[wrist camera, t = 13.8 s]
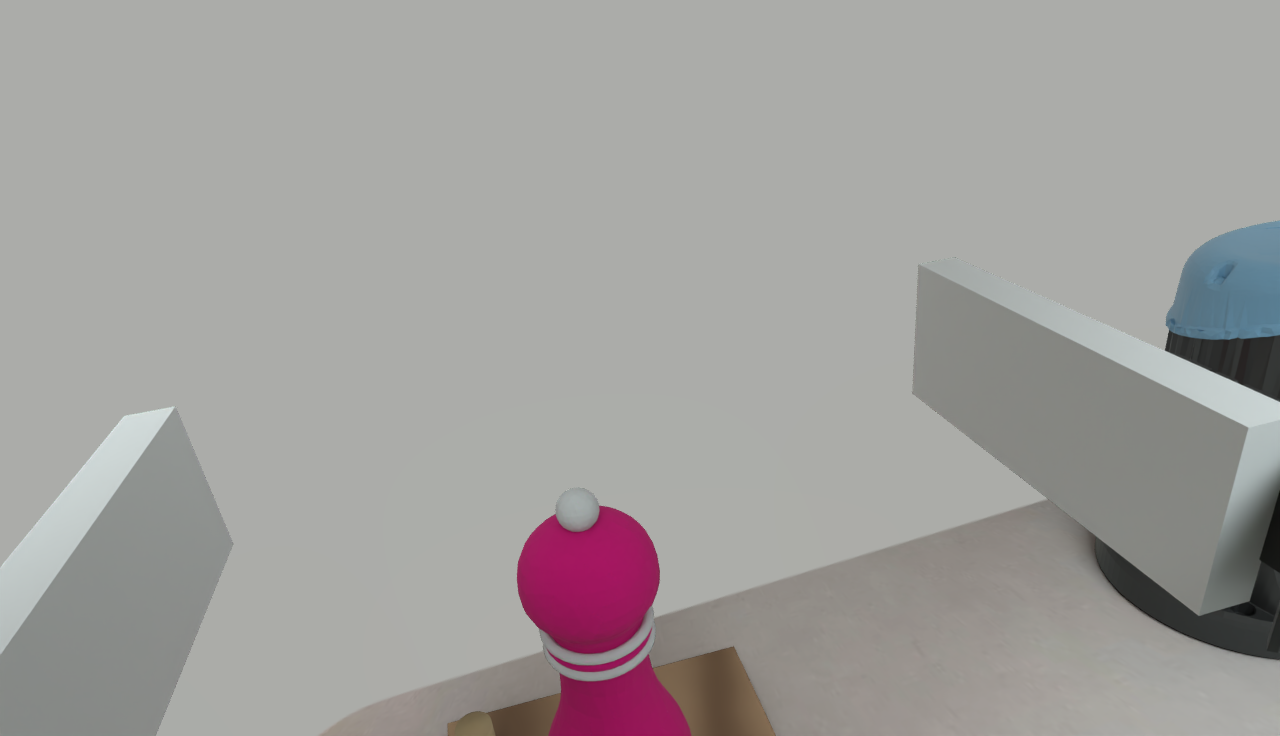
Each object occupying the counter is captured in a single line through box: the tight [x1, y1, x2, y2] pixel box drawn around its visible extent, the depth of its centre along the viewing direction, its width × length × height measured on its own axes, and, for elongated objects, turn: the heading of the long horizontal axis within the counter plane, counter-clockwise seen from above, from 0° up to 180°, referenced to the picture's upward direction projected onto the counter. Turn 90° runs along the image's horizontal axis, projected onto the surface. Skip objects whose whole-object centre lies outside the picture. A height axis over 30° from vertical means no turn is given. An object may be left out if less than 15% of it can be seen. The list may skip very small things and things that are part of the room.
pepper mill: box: [517, 488, 691, 736], centre depth 35 cm, size 7×7×20 cm
